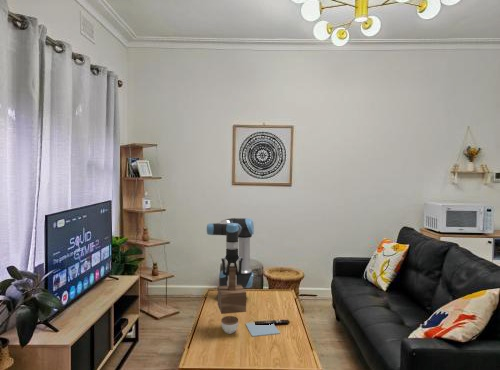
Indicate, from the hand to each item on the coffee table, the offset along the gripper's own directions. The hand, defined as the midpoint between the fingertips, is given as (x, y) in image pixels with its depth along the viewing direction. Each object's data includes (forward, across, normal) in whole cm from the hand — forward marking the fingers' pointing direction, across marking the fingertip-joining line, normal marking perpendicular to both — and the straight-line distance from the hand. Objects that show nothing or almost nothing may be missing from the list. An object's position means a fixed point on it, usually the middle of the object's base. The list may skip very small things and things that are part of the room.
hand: (231, 285), depth 224 cm
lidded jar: (+30, -1, 0) cm, 30 cm away
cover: (+15, 0, 0) cm, 15 cm away
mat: (+30, +20, -1) cm, 36 cm away
